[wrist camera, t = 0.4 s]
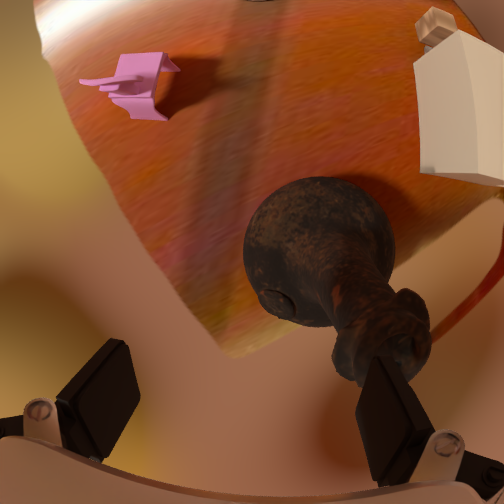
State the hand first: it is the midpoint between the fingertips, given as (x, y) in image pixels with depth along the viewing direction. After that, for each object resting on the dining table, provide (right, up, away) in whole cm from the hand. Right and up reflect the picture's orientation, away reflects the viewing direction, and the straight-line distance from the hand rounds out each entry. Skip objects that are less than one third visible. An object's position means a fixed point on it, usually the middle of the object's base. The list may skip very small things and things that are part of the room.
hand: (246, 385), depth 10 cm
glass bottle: (+9, +6, +29) cm, 31 cm away
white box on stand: (+32, +25, +23) cm, 46 cm away
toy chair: (-14, +28, +26) cm, 41 cm away
